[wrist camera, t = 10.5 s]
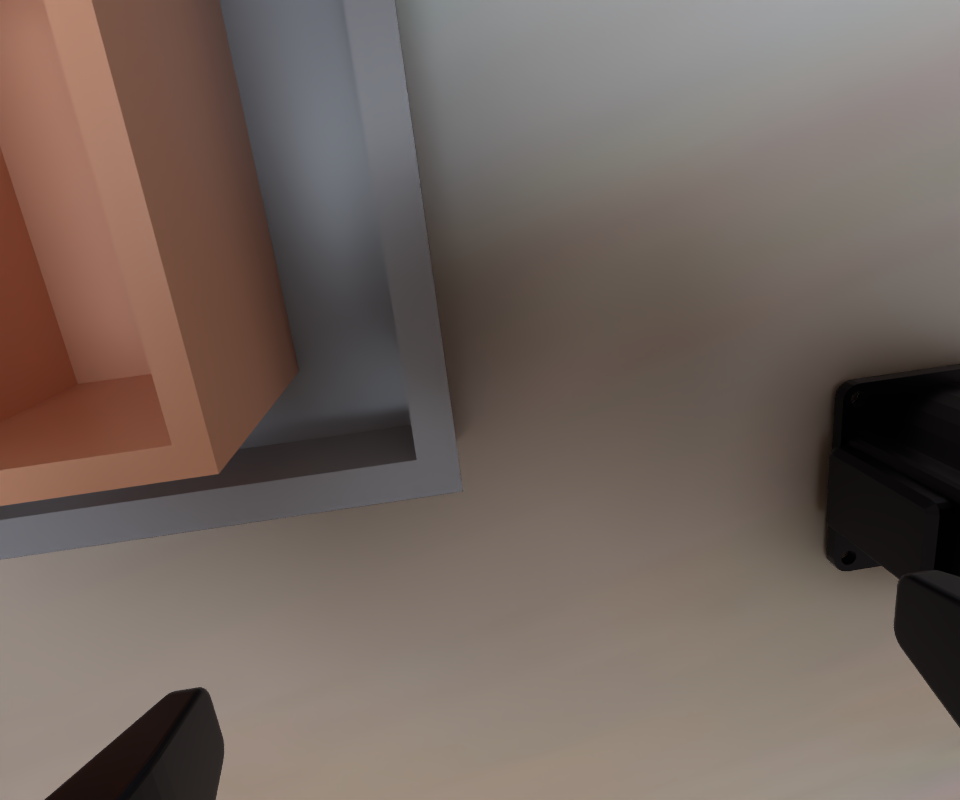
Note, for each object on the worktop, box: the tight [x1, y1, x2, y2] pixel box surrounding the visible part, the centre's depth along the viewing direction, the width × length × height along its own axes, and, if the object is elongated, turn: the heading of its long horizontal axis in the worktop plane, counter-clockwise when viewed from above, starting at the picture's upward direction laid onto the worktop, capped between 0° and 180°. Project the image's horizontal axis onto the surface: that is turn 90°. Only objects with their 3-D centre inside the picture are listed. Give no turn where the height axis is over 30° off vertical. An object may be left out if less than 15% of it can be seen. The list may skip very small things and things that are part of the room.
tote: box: [0, 0, 299, 506], centre depth 12 cm, size 6×10×7 cm, turn 7°
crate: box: [0, 0, 463, 560], centre depth 14 cm, size 14×16×4 cm
